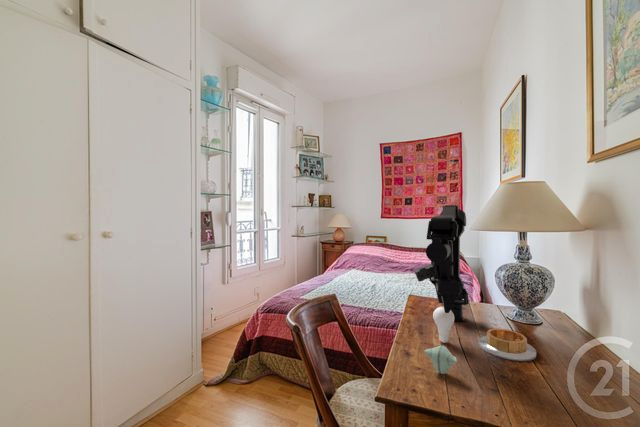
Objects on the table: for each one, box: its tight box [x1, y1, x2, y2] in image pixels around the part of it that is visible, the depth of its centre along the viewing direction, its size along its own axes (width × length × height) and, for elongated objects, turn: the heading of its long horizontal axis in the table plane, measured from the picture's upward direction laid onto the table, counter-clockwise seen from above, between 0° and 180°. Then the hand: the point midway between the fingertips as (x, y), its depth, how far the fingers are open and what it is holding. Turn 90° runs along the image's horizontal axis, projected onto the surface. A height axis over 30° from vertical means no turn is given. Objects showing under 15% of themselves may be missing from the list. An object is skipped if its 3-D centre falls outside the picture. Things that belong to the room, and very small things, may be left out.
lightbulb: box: [432, 306, 455, 344], centre depth 89 cm, size 6×6×11 cm
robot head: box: [423, 345, 458, 375], centre depth 72 cm, size 8×4×7 cm, turn 47°
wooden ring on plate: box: [478, 328, 537, 362], centre depth 84 cm, size 14×14×4 cm
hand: (443, 307), depth 89 cm, fingers open, 9 cm apart
